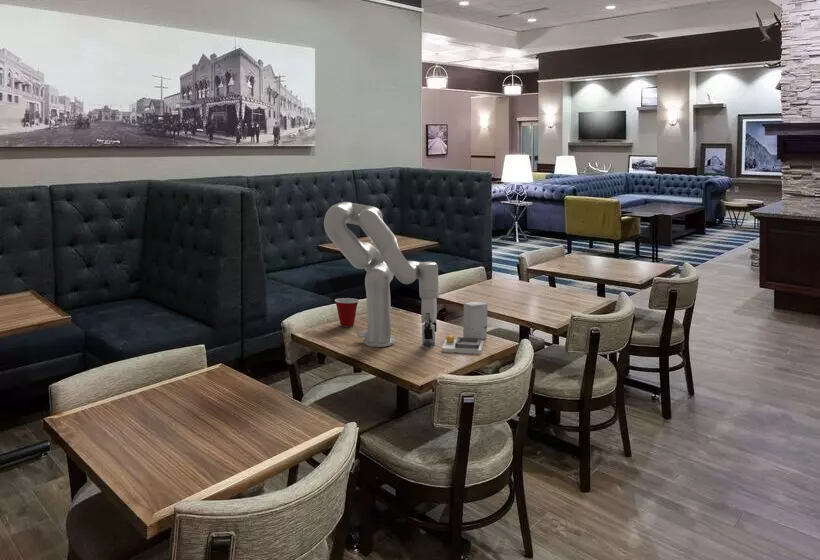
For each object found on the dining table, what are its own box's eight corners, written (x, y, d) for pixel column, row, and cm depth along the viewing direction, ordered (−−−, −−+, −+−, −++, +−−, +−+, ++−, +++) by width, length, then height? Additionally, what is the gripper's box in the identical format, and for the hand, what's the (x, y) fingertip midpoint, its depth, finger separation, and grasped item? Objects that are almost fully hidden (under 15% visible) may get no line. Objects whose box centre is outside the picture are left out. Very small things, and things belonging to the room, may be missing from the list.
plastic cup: (364, 324, 281) (364, 298, 278) (349, 330, 272) (349, 303, 269) (345, 320, 287) (344, 295, 284) (330, 326, 278) (329, 300, 275)
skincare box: (470, 341, 255) (470, 305, 252) (462, 337, 260) (462, 302, 257) (487, 338, 259) (488, 303, 256) (479, 334, 264) (479, 300, 261)
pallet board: (441, 351, 243) (441, 344, 242) (446, 342, 254) (446, 335, 253) (480, 354, 240) (480, 346, 239) (483, 344, 251) (483, 337, 251)
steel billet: (421, 346, 249) (421, 327, 248) (423, 342, 254) (423, 323, 253) (433, 346, 249) (433, 327, 247) (435, 342, 253) (435, 323, 252)
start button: (445, 342, 248) (445, 337, 248) (447, 340, 251) (447, 335, 251) (453, 342, 248) (453, 337, 247) (454, 340, 251) (454, 335, 250)
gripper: (423, 288, 256) (425, 329, 260) (415, 298, 239) (417, 341, 243) (441, 288, 255) (443, 329, 258) (435, 298, 238) (436, 342, 241)
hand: (430, 335), depth 251 cm, fingers open, 9 cm apart
